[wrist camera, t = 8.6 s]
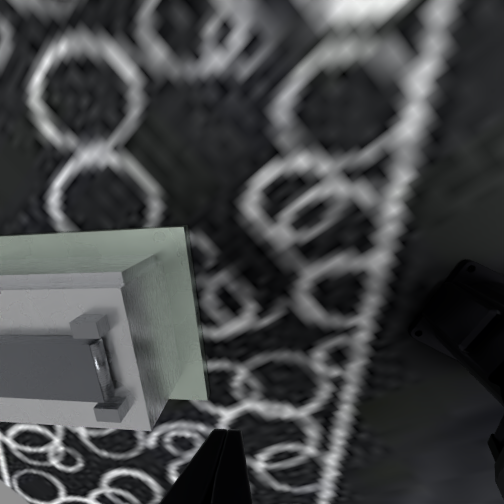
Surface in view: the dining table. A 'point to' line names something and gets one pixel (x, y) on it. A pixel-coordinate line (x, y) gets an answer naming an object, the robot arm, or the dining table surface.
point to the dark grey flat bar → (54, 368)
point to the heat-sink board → (108, 318)
